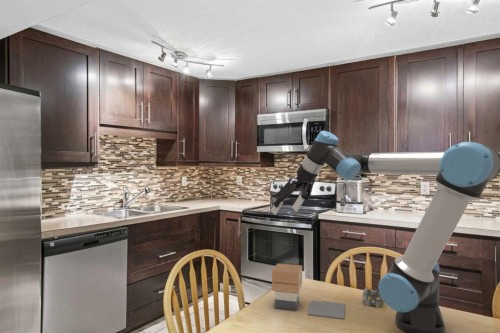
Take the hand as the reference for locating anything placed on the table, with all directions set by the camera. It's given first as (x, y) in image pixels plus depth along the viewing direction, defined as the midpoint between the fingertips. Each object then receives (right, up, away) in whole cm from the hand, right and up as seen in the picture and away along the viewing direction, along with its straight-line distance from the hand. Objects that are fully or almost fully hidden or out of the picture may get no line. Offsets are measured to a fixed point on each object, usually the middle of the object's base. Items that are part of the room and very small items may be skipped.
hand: (284, 211), depth 142 cm
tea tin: (+1, -36, -6) cm, 36 cm away
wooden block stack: (+1, -29, -6) cm, 29 cm away
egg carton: (+35, -36, -2) cm, 50 cm away
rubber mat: (+15, -36, -10) cm, 40 cm away
